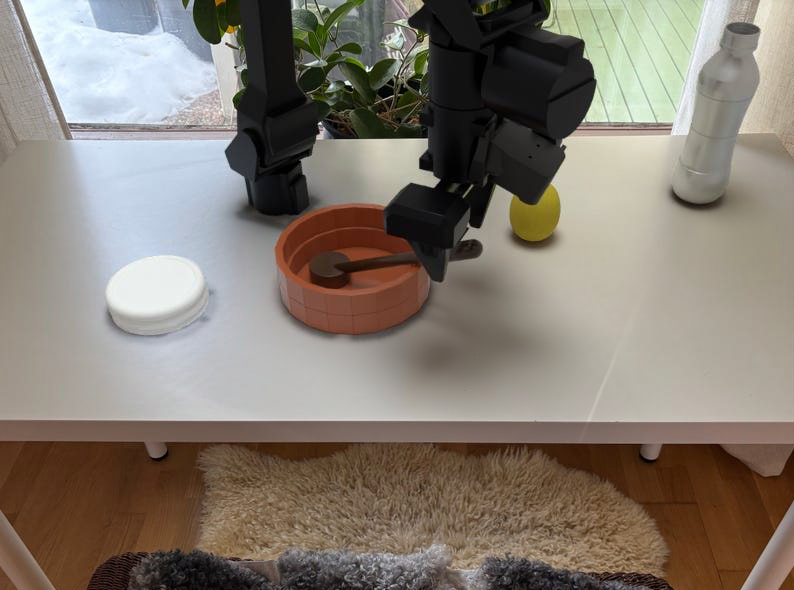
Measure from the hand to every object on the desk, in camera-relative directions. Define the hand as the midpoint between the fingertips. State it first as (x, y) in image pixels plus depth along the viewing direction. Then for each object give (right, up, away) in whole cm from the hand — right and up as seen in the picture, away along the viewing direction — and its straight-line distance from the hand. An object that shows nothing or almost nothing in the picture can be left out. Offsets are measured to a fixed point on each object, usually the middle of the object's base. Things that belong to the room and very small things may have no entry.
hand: (457, 252), depth 73 cm
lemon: (+9, +3, +15) cm, 18 cm away
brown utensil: (-6, -3, +8) cm, 10 cm away
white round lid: (-30, -5, +8) cm, 32 cm away
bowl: (-10, -3, +9) cm, 14 cm away
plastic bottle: (+30, +10, +21) cm, 38 cm away
